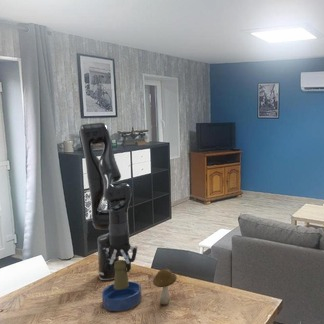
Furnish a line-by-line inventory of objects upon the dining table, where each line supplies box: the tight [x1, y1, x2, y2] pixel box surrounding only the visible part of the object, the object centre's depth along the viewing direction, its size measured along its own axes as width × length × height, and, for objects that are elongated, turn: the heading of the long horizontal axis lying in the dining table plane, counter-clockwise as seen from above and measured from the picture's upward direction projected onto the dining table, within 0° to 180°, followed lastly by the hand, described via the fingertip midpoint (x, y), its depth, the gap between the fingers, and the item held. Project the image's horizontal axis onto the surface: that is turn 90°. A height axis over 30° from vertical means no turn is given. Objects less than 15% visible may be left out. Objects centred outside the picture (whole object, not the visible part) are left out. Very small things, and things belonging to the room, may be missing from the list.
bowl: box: [101, 280, 143, 312], centre depth 142 cm, size 15×15×6 cm
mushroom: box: [152, 268, 178, 306], centre depth 141 cm, size 9×11×15 cm
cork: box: [113, 259, 129, 290], centre depth 140 cm, size 6×6×11 cm
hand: (120, 271), depth 140 cm, fingers closed on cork, 5 cm apart
